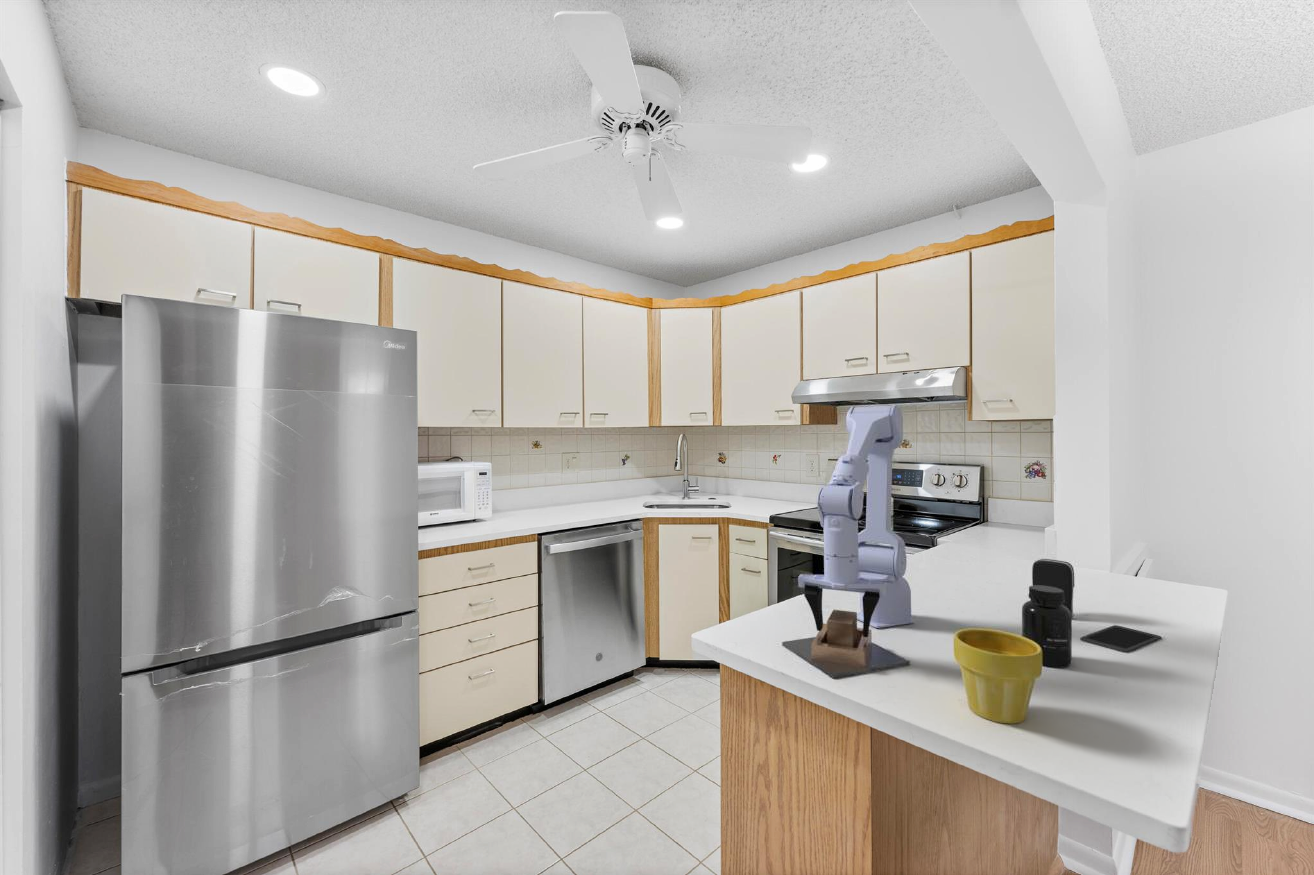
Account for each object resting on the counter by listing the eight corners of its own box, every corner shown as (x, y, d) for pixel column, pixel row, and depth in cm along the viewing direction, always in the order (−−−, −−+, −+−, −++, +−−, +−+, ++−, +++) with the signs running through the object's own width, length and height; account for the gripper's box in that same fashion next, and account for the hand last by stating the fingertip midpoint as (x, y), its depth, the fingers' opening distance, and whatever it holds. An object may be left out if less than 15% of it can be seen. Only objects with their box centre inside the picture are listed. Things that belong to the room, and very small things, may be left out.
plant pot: (1058, 716, 74) (1056, 643, 74) (1021, 740, 68) (1019, 661, 68) (978, 688, 82) (976, 622, 82) (939, 707, 77) (938, 637, 77)
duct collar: (850, 634, 105) (850, 618, 105) (909, 664, 91) (909, 646, 91) (782, 645, 101) (781, 628, 101) (833, 678, 86) (832, 659, 86)
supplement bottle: (1058, 672, 87) (1056, 596, 87) (1013, 657, 94) (1012, 586, 94) (1081, 663, 91) (1079, 590, 91) (1036, 649, 97) (1035, 581, 97)
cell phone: (1163, 640, 101) (1163, 636, 101) (1127, 655, 94) (1127, 651, 94) (1115, 628, 107) (1115, 624, 107) (1078, 641, 101) (1078, 637, 101)
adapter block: (827, 656, 94) (826, 621, 94) (834, 642, 100) (833, 609, 100) (852, 660, 92) (851, 624, 92) (857, 645, 98) (856, 612, 98)
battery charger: (1076, 616, 114) (1075, 561, 114) (1072, 620, 111) (1071, 564, 111) (1036, 609, 119) (1035, 556, 119) (1031, 613, 116) (1030, 558, 116)
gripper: (794, 555, 96) (795, 633, 96) (884, 562, 89) (885, 646, 89) (802, 547, 102) (803, 621, 102) (887, 553, 95) (888, 632, 95)
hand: (842, 632), depth 96 cm, fingers open, 7 cm apart
